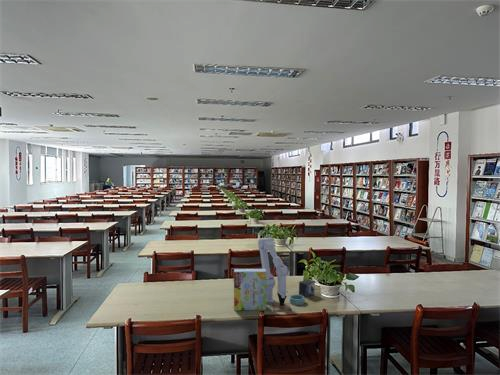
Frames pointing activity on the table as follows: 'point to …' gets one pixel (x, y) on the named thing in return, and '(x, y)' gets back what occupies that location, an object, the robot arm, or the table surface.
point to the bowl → (296, 299)
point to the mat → (282, 311)
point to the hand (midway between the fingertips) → (281, 304)
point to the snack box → (249, 289)
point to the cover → (281, 307)
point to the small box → (306, 288)
